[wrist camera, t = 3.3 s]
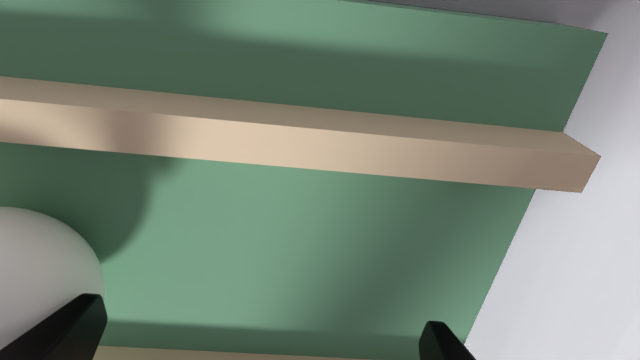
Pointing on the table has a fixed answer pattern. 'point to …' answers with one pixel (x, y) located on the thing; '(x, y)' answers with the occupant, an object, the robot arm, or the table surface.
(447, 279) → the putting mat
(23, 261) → the golf ball
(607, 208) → the table surface
